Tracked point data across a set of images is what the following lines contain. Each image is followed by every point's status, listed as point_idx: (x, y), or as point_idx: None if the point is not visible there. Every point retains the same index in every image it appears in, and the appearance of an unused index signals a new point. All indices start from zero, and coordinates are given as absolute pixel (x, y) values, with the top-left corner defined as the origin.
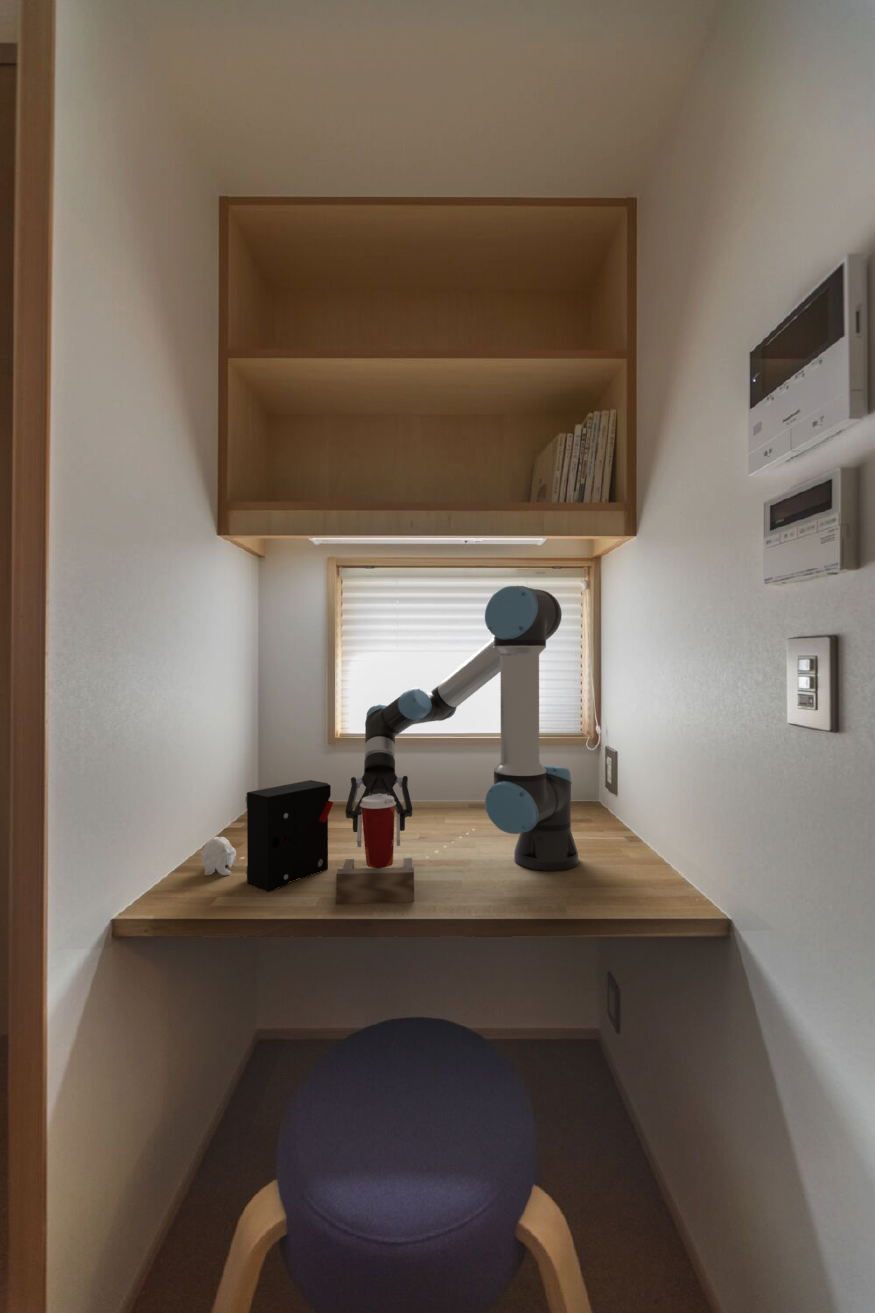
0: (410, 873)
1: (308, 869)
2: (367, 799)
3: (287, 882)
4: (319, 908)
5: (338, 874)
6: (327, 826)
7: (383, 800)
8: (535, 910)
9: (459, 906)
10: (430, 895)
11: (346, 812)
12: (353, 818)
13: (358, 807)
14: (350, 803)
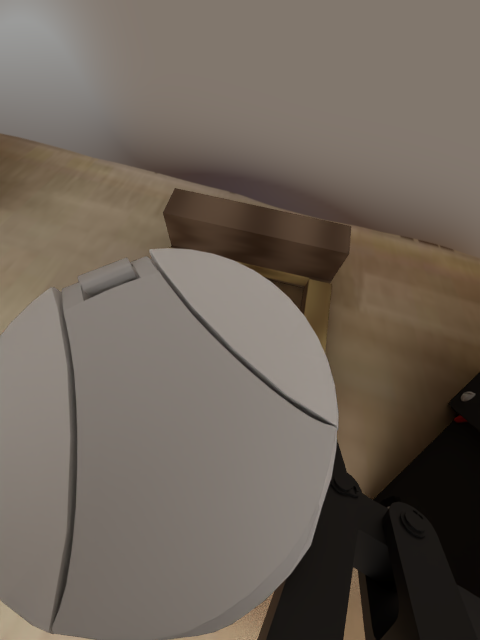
0: (183, 191)
1: (418, 470)
2: (282, 376)
3: (452, 403)
4: (356, 260)
5: (345, 226)
6: (475, 592)
7: (144, 273)
8: (12, 159)
9: (116, 202)
10: (141, 255)
11: (415, 509)
12: (342, 467)
13: (332, 530)
14: (434, 615)
